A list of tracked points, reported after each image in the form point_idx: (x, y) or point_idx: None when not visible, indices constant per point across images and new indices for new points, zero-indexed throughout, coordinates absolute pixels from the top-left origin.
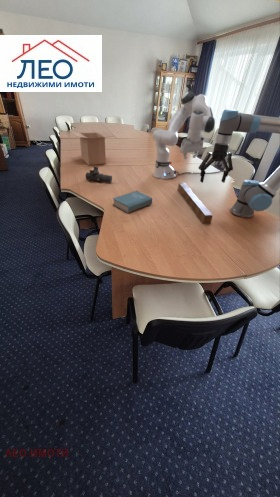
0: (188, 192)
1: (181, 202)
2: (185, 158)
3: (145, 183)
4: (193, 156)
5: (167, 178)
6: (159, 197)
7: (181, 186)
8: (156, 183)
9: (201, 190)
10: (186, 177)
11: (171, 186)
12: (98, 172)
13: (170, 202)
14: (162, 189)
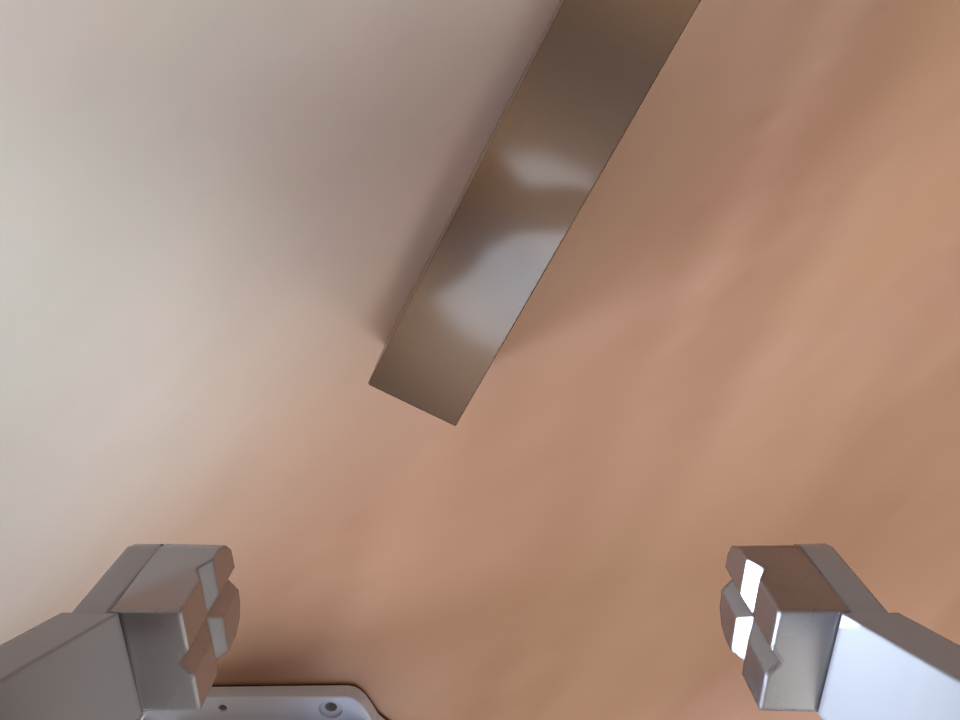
0: (651, 21)
1: (757, 21)
2: (841, 560)
3: (666, 690)
4: (207, 619)
5: (320, 690)
6: (867, 313)
7: (526, 300)
8: (549, 642)
9: (133, 197)
10: (28, 628)
11: (447, 500)
12: None
13: (886, 110)
14: (628, 481)
